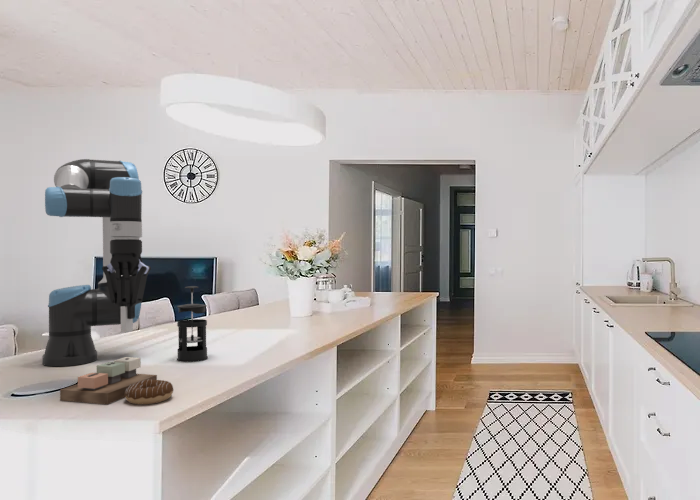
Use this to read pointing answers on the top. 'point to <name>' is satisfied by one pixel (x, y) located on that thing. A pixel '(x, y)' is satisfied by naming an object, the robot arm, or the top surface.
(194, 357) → the french press
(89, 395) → the keypad
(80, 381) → the terracotta key
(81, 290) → the robot arm
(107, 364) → the sage key
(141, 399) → the donut
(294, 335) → the top surface
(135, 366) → the cream key
